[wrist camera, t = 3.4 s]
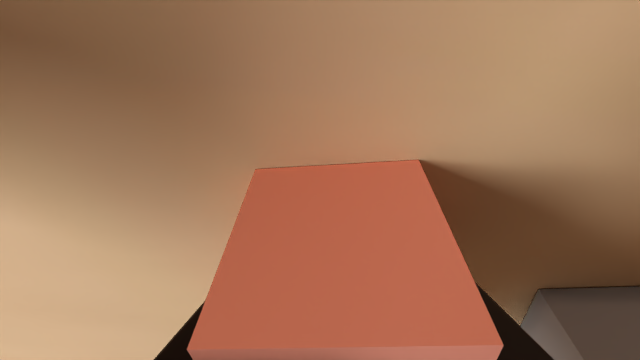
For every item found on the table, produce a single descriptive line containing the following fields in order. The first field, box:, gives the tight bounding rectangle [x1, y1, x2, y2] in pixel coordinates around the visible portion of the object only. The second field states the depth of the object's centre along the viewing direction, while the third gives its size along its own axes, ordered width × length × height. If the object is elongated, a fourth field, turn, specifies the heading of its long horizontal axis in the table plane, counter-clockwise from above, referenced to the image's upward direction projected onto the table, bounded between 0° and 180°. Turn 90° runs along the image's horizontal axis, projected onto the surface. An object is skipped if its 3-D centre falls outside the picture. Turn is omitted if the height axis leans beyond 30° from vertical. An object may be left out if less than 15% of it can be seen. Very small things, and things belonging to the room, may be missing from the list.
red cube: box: [187, 160, 503, 360], centre depth 8 cm, size 4×4×5 cm
